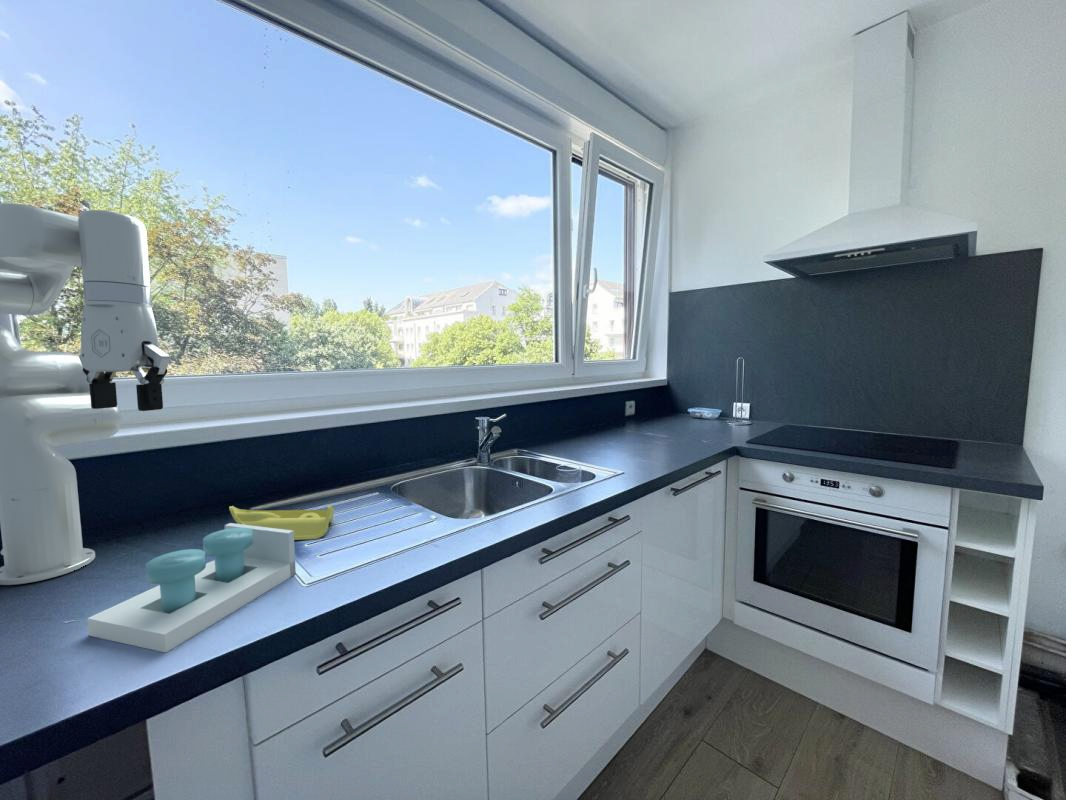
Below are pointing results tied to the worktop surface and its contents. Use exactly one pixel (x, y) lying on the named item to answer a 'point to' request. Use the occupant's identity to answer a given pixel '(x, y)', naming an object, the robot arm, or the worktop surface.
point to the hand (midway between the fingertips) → (127, 409)
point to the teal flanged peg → (228, 551)
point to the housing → (200, 597)
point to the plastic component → (288, 520)
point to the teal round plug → (176, 577)
